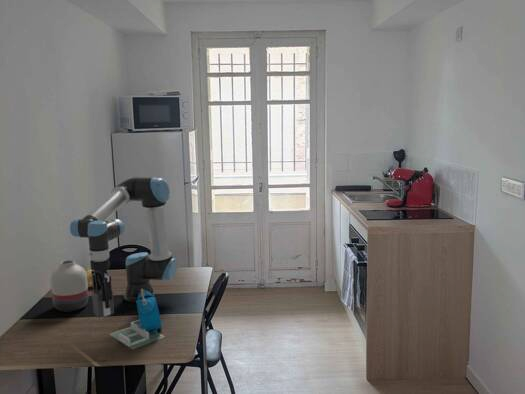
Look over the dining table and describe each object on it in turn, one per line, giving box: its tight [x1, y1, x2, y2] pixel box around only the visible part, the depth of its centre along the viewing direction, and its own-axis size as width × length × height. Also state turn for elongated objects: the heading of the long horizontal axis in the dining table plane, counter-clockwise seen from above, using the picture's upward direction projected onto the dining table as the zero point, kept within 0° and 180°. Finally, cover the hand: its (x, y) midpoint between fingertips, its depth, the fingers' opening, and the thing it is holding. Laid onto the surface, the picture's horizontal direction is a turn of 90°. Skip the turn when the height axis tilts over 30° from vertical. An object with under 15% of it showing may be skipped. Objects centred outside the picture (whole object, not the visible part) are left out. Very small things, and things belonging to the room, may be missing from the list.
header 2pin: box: [130, 318, 142, 332], centre depth 228 cm, size 6×7×3 cm
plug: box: [91, 289, 115, 319], centre depth 212 cm, size 5×7×10 cm
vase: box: [50, 259, 89, 313], centre depth 255 cm, size 17×17×24 cm
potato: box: [85, 269, 94, 289], centre depth 285 cm, size 10×14×10 cm
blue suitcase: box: [135, 289, 163, 335], centre depth 226 cm, size 17×10×20 cm, turn 15°
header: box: [118, 327, 149, 347], centre depth 217 cm, size 8×10×4 cm
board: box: [108, 326, 166, 350], centre depth 221 cm, size 20×16×1 cm
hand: (103, 312), depth 213 cm, fingers closed on plug, 5 cm apart
